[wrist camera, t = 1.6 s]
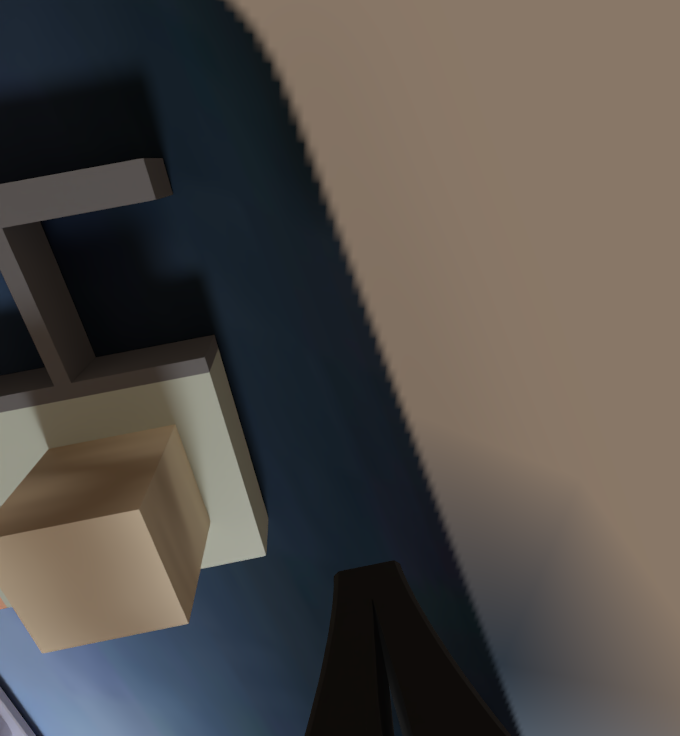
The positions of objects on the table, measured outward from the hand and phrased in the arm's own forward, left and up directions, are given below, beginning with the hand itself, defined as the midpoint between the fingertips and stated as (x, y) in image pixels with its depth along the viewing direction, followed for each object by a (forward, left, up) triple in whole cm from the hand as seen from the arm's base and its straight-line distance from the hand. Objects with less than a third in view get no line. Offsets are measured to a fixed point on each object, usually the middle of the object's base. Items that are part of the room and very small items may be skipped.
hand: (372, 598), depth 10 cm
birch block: (-7, 0, -6) cm, 9 cm away
